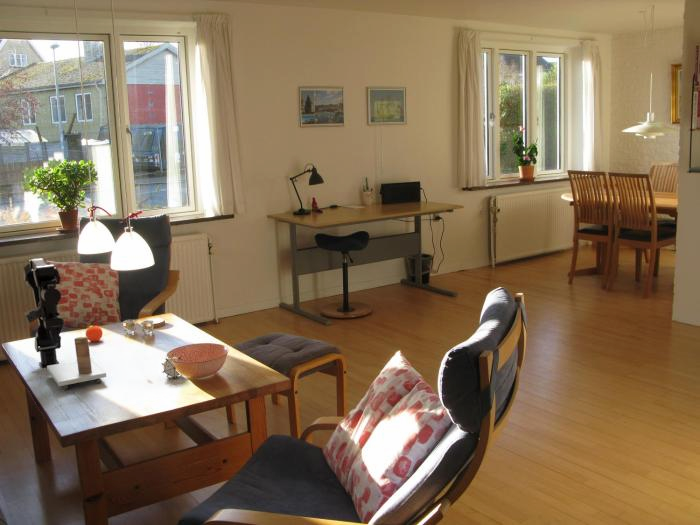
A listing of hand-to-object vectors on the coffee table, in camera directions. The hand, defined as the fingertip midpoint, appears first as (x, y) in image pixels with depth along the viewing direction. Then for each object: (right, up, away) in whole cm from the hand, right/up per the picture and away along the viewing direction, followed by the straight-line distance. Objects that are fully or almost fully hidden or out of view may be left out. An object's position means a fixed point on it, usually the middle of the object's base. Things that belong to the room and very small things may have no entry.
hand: (52, 340), depth 263 cm
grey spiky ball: (+47, -13, -5) cm, 49 cm away
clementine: (-1, -6, +45) cm, 45 cm away
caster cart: (+11, -14, -5) cm, 18 cm away
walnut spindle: (+16, -10, -10) cm, 21 cm away
